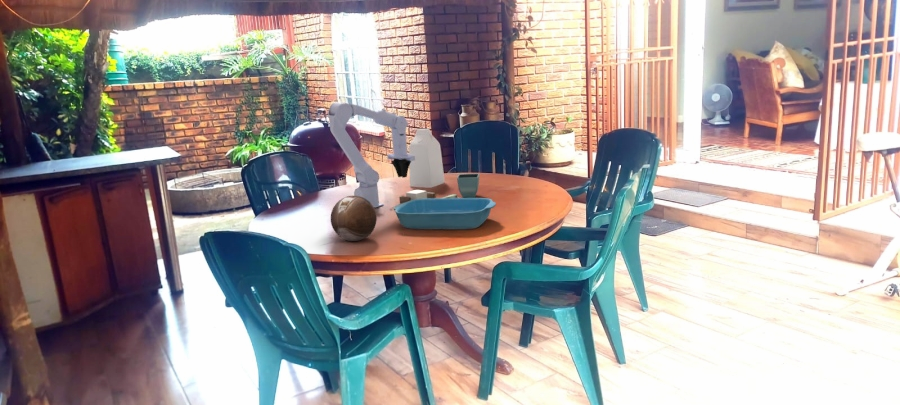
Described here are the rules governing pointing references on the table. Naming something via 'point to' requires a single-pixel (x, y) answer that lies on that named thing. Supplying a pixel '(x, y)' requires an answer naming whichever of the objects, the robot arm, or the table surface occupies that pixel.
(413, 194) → the block
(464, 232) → the table surface
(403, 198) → the trap lane
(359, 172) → the robot arm
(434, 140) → the milk
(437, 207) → the casserole dish
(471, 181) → the flower pot
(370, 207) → the wooden sphere
